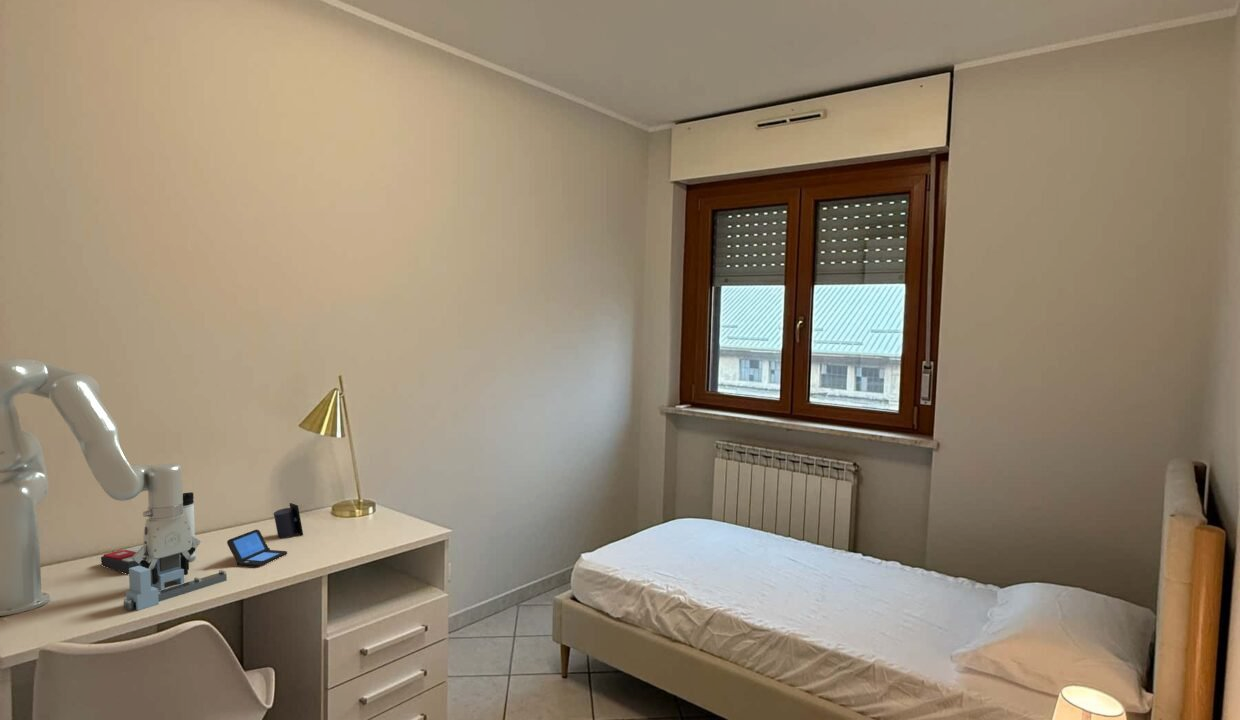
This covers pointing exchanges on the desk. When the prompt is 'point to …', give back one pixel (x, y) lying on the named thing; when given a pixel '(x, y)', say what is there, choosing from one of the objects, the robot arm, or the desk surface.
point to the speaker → (288, 521)
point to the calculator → (121, 559)
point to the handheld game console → (252, 550)
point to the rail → (183, 588)
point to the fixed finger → (142, 588)
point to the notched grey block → (169, 570)
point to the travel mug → (189, 515)
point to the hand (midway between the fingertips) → (168, 577)
